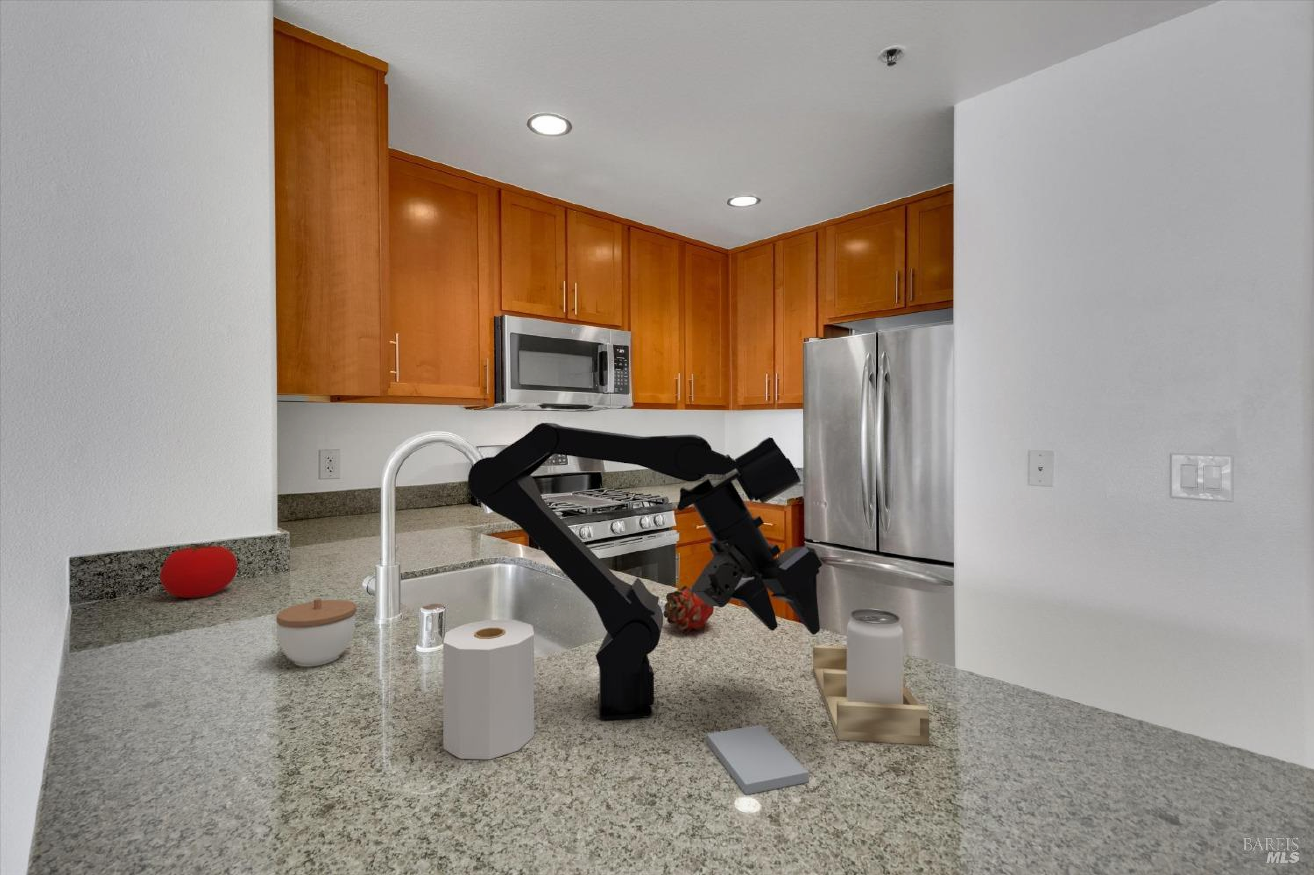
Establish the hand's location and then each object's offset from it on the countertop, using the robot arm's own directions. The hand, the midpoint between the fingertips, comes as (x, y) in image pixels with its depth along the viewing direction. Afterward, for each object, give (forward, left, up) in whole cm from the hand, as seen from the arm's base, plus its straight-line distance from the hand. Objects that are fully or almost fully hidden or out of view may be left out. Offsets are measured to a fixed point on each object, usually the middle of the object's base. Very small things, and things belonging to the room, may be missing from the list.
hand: (794, 630), depth 73 cm
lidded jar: (-67, +27, -11) cm, 73 cm away
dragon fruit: (-7, +34, -11) cm, 36 cm away
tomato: (-108, +68, -11) cm, 128 cm away
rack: (+10, +2, -10) cm, 15 cm away
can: (+9, -3, -10) cm, 14 cm away
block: (-8, -9, -10) cm, 16 cm away
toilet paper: (-37, 0, -11) cm, 39 cm away
